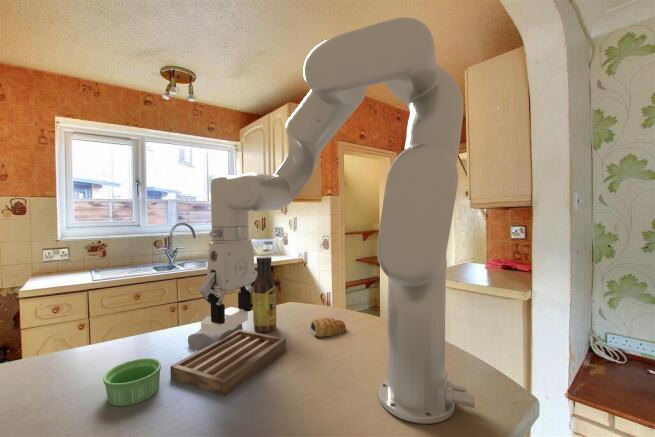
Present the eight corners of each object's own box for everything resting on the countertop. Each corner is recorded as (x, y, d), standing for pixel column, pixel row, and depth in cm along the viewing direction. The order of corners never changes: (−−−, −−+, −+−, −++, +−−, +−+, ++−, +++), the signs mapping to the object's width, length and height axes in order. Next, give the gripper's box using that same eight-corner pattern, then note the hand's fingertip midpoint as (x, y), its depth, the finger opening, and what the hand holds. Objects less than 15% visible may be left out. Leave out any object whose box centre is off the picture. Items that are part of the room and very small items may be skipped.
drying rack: (286, 349, 74) (286, 338, 74) (224, 396, 56) (224, 382, 56) (239, 338, 80) (239, 329, 80) (170, 378, 62) (170, 366, 62)
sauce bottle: (274, 333, 83) (273, 259, 82) (250, 333, 83) (249, 259, 82) (278, 324, 89) (277, 255, 89) (256, 324, 90) (255, 255, 89)
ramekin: (126, 379, 62) (125, 357, 62) (171, 379, 62) (170, 357, 61) (91, 409, 53) (89, 383, 53) (143, 409, 53) (142, 384, 52)
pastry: (340, 325, 89) (340, 312, 88) (349, 334, 82) (349, 320, 82) (308, 330, 85) (308, 316, 85) (316, 340, 79) (315, 325, 79)
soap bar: (248, 319, 71) (247, 308, 71) (219, 335, 63) (218, 322, 63) (231, 316, 73) (231, 305, 73) (201, 330, 65) (200, 318, 65)
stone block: (184, 356, 75) (220, 352, 72) (181, 336, 75) (216, 331, 73) (214, 337, 86) (246, 334, 84) (211, 320, 87) (243, 316, 84)
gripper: (212, 239, 57) (214, 334, 58) (269, 231, 73) (270, 306, 74) (183, 237, 60) (185, 327, 61) (243, 230, 76) (245, 302, 77)
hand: (231, 315), depth 67 cm, fingers closed on soap bar, 7 cm apart
